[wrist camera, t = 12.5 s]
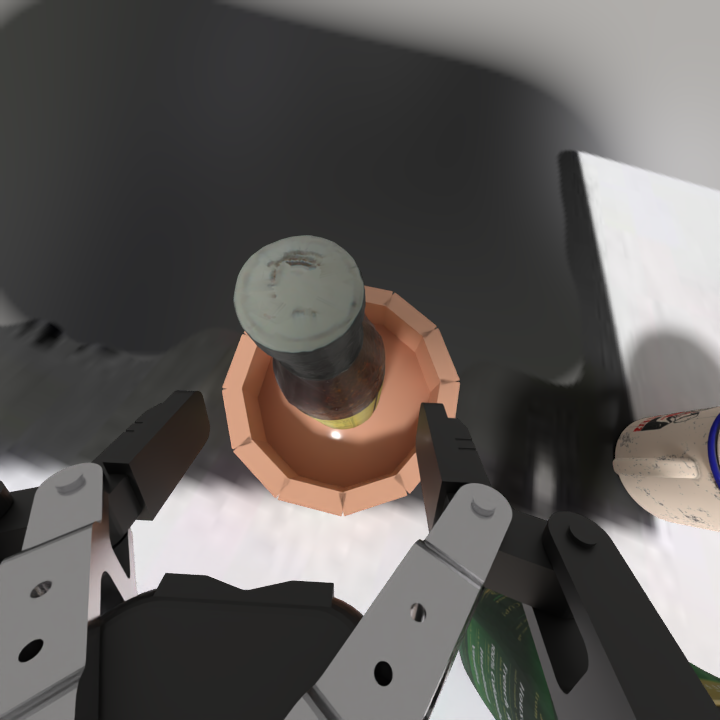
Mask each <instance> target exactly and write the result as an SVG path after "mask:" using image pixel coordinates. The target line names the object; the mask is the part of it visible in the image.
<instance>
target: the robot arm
mask: <svg viewBox="0 0 720 720" xmlns="http://www.w3.org/2000/svg"><path fill="white" fill-rule="evenodd" d="M209 432H210V425H209V420H208V416H207V412H206V407H205V403H204V399H203V395H202V393H201V392H199V391H186V390H177V391H175V392H174V393H173V394H172V395H170V396H169V397H168V398H167V399H166V400H165V401H164V402H163V403H160V404H158V405H156V406H154V407H153V408H151V409H149V410H147V411H146V412H144V413H143V414H142V415H141V416H140V417H139V418H138V419H137V420H136V421H135V423H134V424H132V425H131V426H130V427H129V428H127V429H126V432H123V433H122V434H121V435H120V436H119V437H118V438H117V439H116V440H115V441H114V442H113V443H112V444H110V445H109V446H108V447H107V448H106V449H105V450H104V451H103V452H102V453H101V454H100V455H99V456H98V457H97V458H96V459H95V460H93V461H92V462H91V463H82V464H77V465H74V466H71V467H68V468H65V469H63V470H61V471H59V472H57V473H55V474H54V475H52V476H51V477H49V478H48V479H47V480H45V481H44V482H43V483H42V484H41V485H40V486H39V487H35V488H30V489H25V490H19V491H14V492H9V491H8V490H7V488H6V487H5V485H4V484H3V482H2V481H0V720H429V719H430V717H431V714H432V712H433V710H434V707H435V705H436V703H437V700H438V698H439V696H440V693H441V691H442V689H443V686H444V684H445V682H446V679H447V677H448V674H449V672H450V670H451V667H452V665H453V662H454V660H455V657H456V655H457V652H458V650H459V648H460V645H461V643H462V641H463V638H464V636H465V634H466V631H467V629H468V627H469V624H470V622H471V620H472V617H473V615H474V613H475V610H476V608H477V606H478V603H479V601H480V599H481V596H482V594H483V592H484V589H485V588H487V589H490V590H492V591H495V592H497V593H500V594H502V595H505V596H507V597H509V598H512V599H514V600H517V601H519V602H522V605H523V608H524V611H525V614H526V618H527V621H528V624H529V627H530V630H531V634H532V637H533V640H534V643H535V646H536V650H537V653H538V656H539V659H540V662H541V666H542V669H543V672H544V675H545V678H546V682H547V685H548V688H549V691H550V695H551V698H552V701H553V704H554V707H555V711H556V714H557V717H558V720H720V711H719V709H718V708H717V706H716V704H715V703H714V701H713V700H712V698H711V697H710V695H709V693H708V692H707V690H706V689H705V687H704V685H703V684H702V682H701V681H700V679H699V678H698V676H697V674H696V673H695V671H694V670H693V668H692V666H691V665H690V663H689V662H688V660H687V658H686V657H685V655H684V654H683V652H682V651H681V649H680V647H679V646H678V644H677V643H676V641H675V639H674V638H673V636H672V635H671V633H670V632H669V630H668V628H667V627H666V625H665V624H664V622H663V620H662V619H661V617H660V616H659V614H658V613H657V611H656V609H655V608H654V606H653V605H652V603H651V601H650V600H649V598H648V597H647V595H646V593H645V592H644V590H643V589H642V587H641V586H640V584H639V582H638V581H637V579H636V578H635V576H634V574H633V573H632V571H631V570H630V568H629V567H628V565H627V563H626V562H625V560H624V559H623V557H622V555H621V554H620V552H619V551H618V549H617V548H616V546H615V544H614V543H613V541H612V540H611V538H610V537H609V536H608V534H607V533H606V532H605V531H604V530H603V529H602V528H601V527H600V526H598V525H597V524H596V523H594V522H593V521H591V520H590V519H588V518H586V517H584V516H582V515H580V514H577V513H573V512H568V511H560V512H556V513H554V514H552V515H551V517H550V518H549V520H548V521H546V520H543V519H540V518H537V517H534V516H531V515H528V514H525V513H522V512H519V511H517V510H515V509H513V508H511V507H510V504H509V503H508V501H507V500H506V499H505V497H504V496H503V495H502V494H500V493H499V492H498V491H496V490H495V489H493V488H492V487H491V485H490V483H489V480H488V478H487V475H486V473H485V470H484V468H483V465H482V463H481V460H480V458H479V455H478V453H477V451H476V448H475V445H474V443H473V441H472V438H471V436H470V433H469V431H468V428H467V427H466V426H465V425H464V424H463V423H462V422H461V421H460V420H459V419H458V418H448V416H447V413H446V410H445V407H444V405H443V404H442V403H425V402H422V403H421V406H420V412H419V419H418V426H417V433H416V455H417V462H418V468H419V474H420V480H421V486H422V492H423V498H424V504H425V510H426V516H427V522H428V528H429V534H428V536H427V537H426V539H425V540H424V541H422V540H420V539H419V540H418V541H416V542H415V544H414V545H413V546H412V547H411V549H410V550H409V552H408V553H407V555H406V556H405V557H404V559H403V560H402V562H401V563H400V565H399V566H398V567H397V569H396V570H395V572H394V573H393V575H392V576H391V577H390V579H389V580H388V582H387V583H386V585H385V586H384V587H383V589H382V590H381V592H380V593H379V595H378V596H377V598H376V599H375V600H374V602H373V603H372V605H371V606H370V608H369V609H368V610H367V612H366V613H365V615H364V616H363V615H362V614H361V613H360V612H359V611H358V610H356V609H355V608H354V607H352V606H351V605H349V604H347V603H346V602H344V601H342V600H340V599H337V598H335V597H334V583H324V582H307V581H288V582H283V583H279V584H274V585H270V586H265V587H260V588H256V589H251V590H242V589H239V588H237V587H234V586H232V585H229V584H227V583H224V582H222V581H219V580H217V579H214V578H212V577H209V576H206V575H190V574H173V573H165V575H164V577H163V579H162V580H161V582H160V584H159V586H158V588H157V589H153V590H150V591H147V592H144V593H141V594H139V595H138V593H137V587H136V576H135V562H134V548H133V534H132V531H131V529H130V527H131V525H132V524H133V523H134V521H135V520H150V521H153V519H154V518H155V516H156V515H157V513H158V512H159V510H160V509H161V507H162V506H163V505H164V503H165V502H166V500H167V499H168V497H169V496H170V494H171V493H172V491H173V490H174V488H175V487H176V485H177V484H178V483H179V481H180V480H181V478H182V477H183V475H184V474H185V472H186V471H187V469H188V468H189V466H190V465H191V464H192V462H193V461H194V459H195V458H196V456H197V455H198V453H199V452H200V450H201V449H202V447H203V446H204V445H205V443H206V441H207V439H208V437H209Z"/></svg>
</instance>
